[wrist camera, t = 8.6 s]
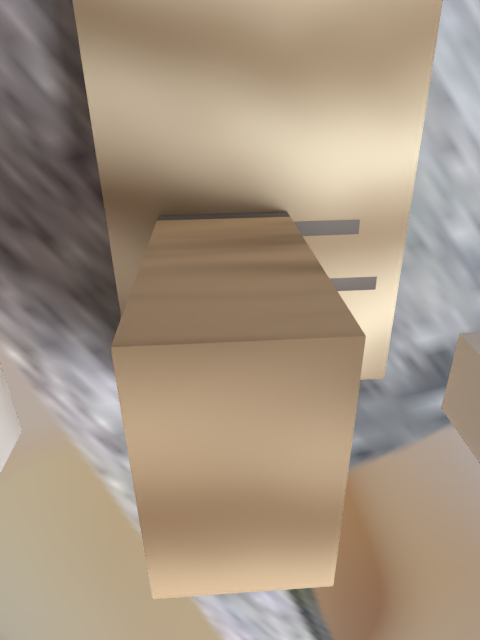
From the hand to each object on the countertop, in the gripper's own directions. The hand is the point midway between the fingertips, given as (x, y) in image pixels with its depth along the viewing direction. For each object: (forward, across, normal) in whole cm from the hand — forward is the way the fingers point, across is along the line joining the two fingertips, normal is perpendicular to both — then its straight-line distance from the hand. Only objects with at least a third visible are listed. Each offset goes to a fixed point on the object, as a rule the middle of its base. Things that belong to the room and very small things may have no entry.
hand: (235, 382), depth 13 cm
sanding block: (+7, 0, -1) cm, 7 cm away
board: (+8, +1, +3) cm, 9 cm away
